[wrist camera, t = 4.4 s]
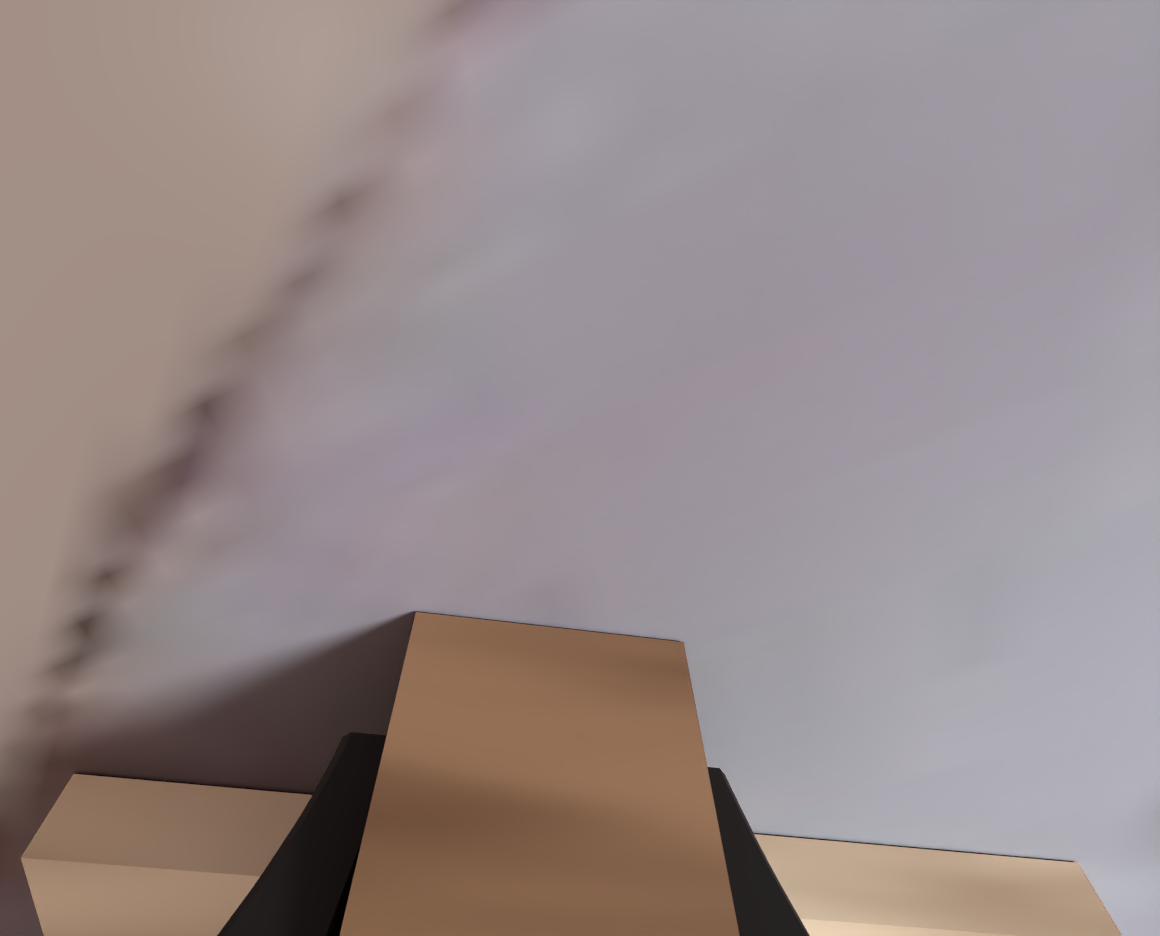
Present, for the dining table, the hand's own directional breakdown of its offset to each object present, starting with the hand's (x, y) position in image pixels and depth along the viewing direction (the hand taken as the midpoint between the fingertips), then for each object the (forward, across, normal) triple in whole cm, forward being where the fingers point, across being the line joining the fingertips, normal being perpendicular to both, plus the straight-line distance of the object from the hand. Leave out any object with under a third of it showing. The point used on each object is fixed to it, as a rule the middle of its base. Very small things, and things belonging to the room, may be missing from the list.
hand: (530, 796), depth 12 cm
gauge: (+1, 0, +4) cm, 4 cm away
